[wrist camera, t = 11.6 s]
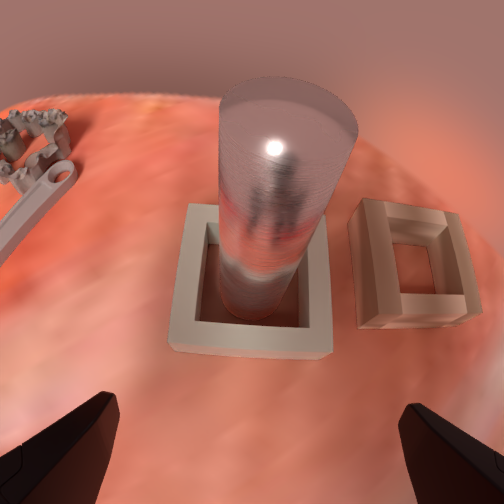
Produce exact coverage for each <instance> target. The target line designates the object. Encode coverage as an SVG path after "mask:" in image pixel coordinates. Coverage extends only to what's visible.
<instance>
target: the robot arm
mask: <svg viewBox="0 0 504 504" xmlns="http://www.w3.org/2000/svg"><path fill="white" fill-rule="evenodd" d="M119 418H120V412H119V407H118V403H117V399H116V395H115V394H114V393H110V392H106V391H101V392H99V393H98V394H96V395H95V396H93V397H92V398H91V399H89V400H88V401H86V402H85V403H83V404H82V405H80V406H79V407H77V408H76V409H74V410H73V411H71V412H70V413H68V414H67V415H65V416H64V417H62V418H61V419H59V420H58V421H56V422H55V423H53V424H52V425H50V426H49V427H47V428H45V429H44V430H42V431H41V432H39V433H38V434H36V435H35V436H33V437H32V438H30V439H29V440H27V441H25V442H24V443H22V446H21V445H19V446H17V447H16V448H14V449H13V450H11V451H9V452H8V453H6V454H4V455H3V456H1V457H0V504H95V502H96V499H97V496H98V493H99V490H100V487H101V484H102V482H103V479H104V476H105V473H106V470H107V467H108V464H109V461H110V458H111V454H112V449H113V444H114V440H115V436H116V431H117V427H118V423H119ZM398 429H399V433H400V438H401V443H402V448H403V453H404V458H405V462H406V466H407V469H408V473H409V476H410V479H411V482H412V486H413V489H414V492H415V496H416V499H417V502H418V504H504V456H503V455H501V454H499V453H498V452H496V451H494V450H493V449H491V448H489V447H488V446H486V445H485V444H483V443H481V442H480V441H478V440H477V439H475V438H473V437H472V436H470V435H469V434H467V433H466V432H464V431H462V430H461V429H459V428H458V427H456V426H455V425H453V424H451V423H450V422H448V421H447V420H445V419H444V418H442V417H441V416H439V415H438V414H436V413H434V412H433V411H431V410H430V409H428V408H427V407H425V406H424V405H422V404H421V403H412V404H408V405H407V406H406V408H405V410H404V412H403V414H402V416H401V418H400V420H399V423H398Z"/></svg>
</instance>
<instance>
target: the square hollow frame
mask: <svg viewBox="0 0 504 504" xmlns="http://www.w3.org/2000/svg"><path fill="white" fill-rule="evenodd" d="M208 244H215V245H219V205H210V204H195V203H189V204H188V209H187V214H186V220H185V225H184V231H183V236H182V242H181V248H180V254H179V260H178V266H177V273H176V279H175V286H174V293H173V300H172V307H171V314H170V322H169V330H168V338H167V343H168V344H169V345H170V346H171V347H172V349H173V350H174V351H178V352H187V353H196V354H207V355H219V356H232V357H247V358H266V359H296V360H320V359H321V358H323V357H325V356H327V355H329V354H331V353H332V352H333V322H332V299H331V281H330V265H329V251H328V239H327V227H326V216H325V215H322V218H321V220H320V222H319V224H318V226H317V228H316V230H315V232H314V234H313V237H312V239H311V241H310V243H309V245H308V247H307V249H306V251H305V253H304V255H303V257H302V259H301V261H300V263H299V265H298V307H299V328H295V327H273V326H256V325H241V324H227V323H215V322H203V321H200V311H201V302H202V292H203V284H204V275H205V266H206V258H207V250H208Z"/></svg>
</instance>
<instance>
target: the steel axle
mask: <svg viewBox="0 0 504 504" xmlns="http://www.w3.org/2000/svg"><path fill="white" fill-rule="evenodd" d="M357 137H358V124H357V121H356V119H355V116H354V115H353V113H352V111H351V110H350V109H349V108H348V106H347V105H346V104H345V103H344V102H343V101H342V100H340V99H339V98H338V97H337V96H335V95H334V94H332V93H331V92H329V91H327V90H325V89H323V88H321V87H319V86H317V85H314V84H312V83H309V82H306V81H302V80H298V79H293V78H287V77H261V78H255V79H251V80H247V81H244V82H242V83H240V84H238V85H236V86H234V87H233V88H231V89H230V90H229V91H228V92H227V93H226V94H225V95H224V96H223V98H222V100H221V102H220V106H219V265H220V295H221V299H222V302H223V304H224V306H225V307H226V309H227V310H228V311H229V312H230V313H231V314H233V315H234V316H236V317H238V318H240V319H243V320H250V321H254V320H260V319H263V318H266V317H267V316H269V315H271V314H272V313H273V312H274V311H275V310H276V308H277V307H278V305H279V303H280V301H281V299H282V297H283V295H284V293H285V291H286V289H287V288H288V286H289V284H290V282H291V280H292V278H293V275H294V273H295V271H296V269H297V267H298V265H299V263H300V261H301V259H302V257H303V255H304V253H305V251H306V249H307V247H308V245H309V243H310V241H311V239H312V237H313V234H314V232H315V230H316V228H317V226H318V224H319V222H320V220H321V218H322V215H323V213H324V211H325V209H326V207H327V205H328V202H329V200H330V198H331V196H332V194H333V192H334V189H335V187H336V185H337V183H338V181H339V178H340V176H341V174H342V172H343V169H344V167H345V165H346V163H347V160H348V158H349V156H350V154H351V151H352V149H353V147H354V144H355V142H356V140H357Z"/></svg>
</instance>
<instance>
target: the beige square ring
mask: <svg viewBox="0 0 504 504" xmlns="http://www.w3.org/2000/svg"><path fill="white" fill-rule="evenodd" d="M347 225H348V233H349V241H350V250H351V259H352V268H353V279H354V290H355V303H356V318H357V329H403V328H436V327H456V326H458V325H460V324H462V323H464V322H466V321H468V320H470V319H472V318H474V317H476V316H477V315H479V314H481V313H483V311H482V306H481V300H480V295H479V290H478V285H477V281H476V276H475V272H474V268H473V264H472V260H471V256H470V252H469V248H468V245H467V241H466V238H465V234H464V231H463V227H462V224H461V221H460V218H459V215H458V214H455V213H450V212H445V211H440V210H434V209H429V208H423V207H418V206H412V205H406V204H400V203H394V202H387V201H381V200H374V199H367V198H362V200H361V201H360V203H359V205H358V207H357V208H356V210H355V212H354V213H353V215H352V217H351V218H350V220H349V222H348V223H347ZM392 243H397V244H406V245H415V246H424V247H427V251H428V256H429V260H430V265H431V270H432V275H433V281H434V286H435V292H436V294H409V293H400V287H399V280H398V274H397V267H396V261H395V255H394V249H393V244H392Z"/></svg>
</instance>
